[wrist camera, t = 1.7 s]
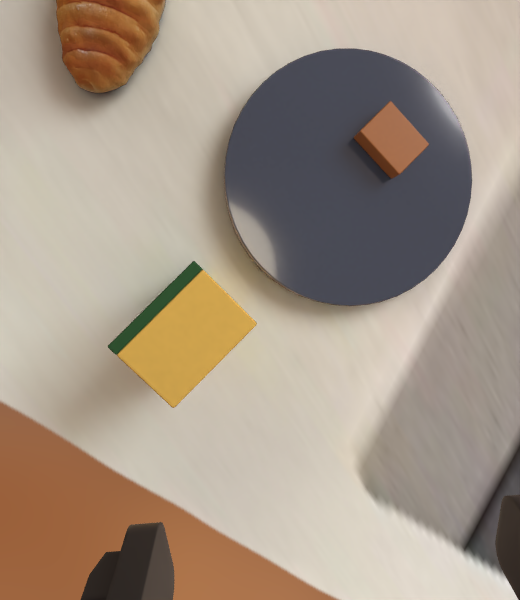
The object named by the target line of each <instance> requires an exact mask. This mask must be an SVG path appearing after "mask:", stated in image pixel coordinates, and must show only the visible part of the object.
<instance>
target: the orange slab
mask: <svg viewBox="0 0 520 600" xmlns="http://www.w3.org/2000/svg"><path fill="white" fill-rule="evenodd" d="M354 139H355V140H356V141H357V142H358V143H359V144H360V146H361V147H362V148H363V149H364V150H365V151H366V152H367V153H368V154H369V155H370V157H371V158H372V159H373V160H374V161H375V162H376V163H377V164H378V165H379V166H380V167H381V169H382V170H383V171H384V172H385V173H386V174H387V175H388V176H389V177H390V178H391V179H392V178H394V177H396V176H398V175H400V174H401V173H402V172H403V171H404V170H405V169H406V168H407V167H408V166H409V165H410V164H411V163H412V162H413V161H414V160H415V159H416V158H417V157H418V156H419V155H420V154H421V153H422V152H423V151H424V150H425V149H426V148H427V147H428V145H429V143H428V142H427V141H426V140H425V139H424V138H423V137H422V135H421V134H420V133H419V132H418V131H417V130H416V129H415V128H414V126H413V125H412V124H411V123H410V122H409V121H408V120H407V119H406V117H405V116H404V115H403V114H402V113H401V112H400V111H399V110H398V108H397V107H396V106H395V105H394V104H393V103H392V102H391V101H389V102H388V103H387V104H386V105H385V106H384V107H383V108H382V109H381V110H380V111H379V112H378V113H377V114H376V115H375V116H374V117H373V118H372V119H371V120H370V121H369V122H368V123H367V124H366V125H365V126H364V127H363V128H362V129H361V130H360V131H359V132H358V133H357V134H356V135H355V136H354Z"/></svg>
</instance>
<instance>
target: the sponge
mask: <svg viewBox="0 0 520 600" xmlns="http://www.w3.org/2000/svg"><path fill="white" fill-rule="evenodd" d="M256 324H257V323H256V322H255V321H254V320H253V319H252V318H251V317H250V316H249V315H248V314H247V313H246V312H245V311H244V310H243V309H242V308H241V307H240V306H239V305H238V304H237V303H236V302H235V301H234V300H233V299H232V298H231V297H230V296H229V295H228V294H227V293H226V292H225V291H224V290H223V289H222V288H221V287H220V286H219V285H218V284H217V283H216V282H215V281H214V280H213V279H212V278H211V277H210V276H209V275H208V274H207V273H206V272H205V271H204V270H203V269H202V268H201V267H200V266H199V265H198V264H197V263H196V262H195V261H193V262H192V263H191V264H190V265H189V266H188V267H187V268H186V269H185V270H184V271H183V272H182V273H181V274H180V275H179V276H178V277H177V278H176V279H175V280H174V281H173V282H172V283H171V284H170V285H169V286H168V287H167V288H166V289H165V290H164V291H163V292H162V293H161V294H160V295H159V296H158V297H157V298H156V299H155V300H154V301H153V302H152V303H151V304H150V305H149V306H148V307H147V308H146V309H145V310H144V311H143V312H142V313H141V314H140V315H139V316H138V317H137V318H136V319H135V320H134V321H133V322H132V323H131V324H130V325H129V326H128V327H127V328H126V329H125V330H124V331H123V332H122V333H121V334H120V335H119V336H118V337H117V338H116V339H115V340H114V341H113V342H111V343H110V344H109V345H108V348H109V349H110V350H111V351H112V352H113V353H115V354H117V356H118V357H119V358H120V359H121V360H122V361H123V362H124V363H125V364H126V365H128V366H129V367H130V368H131V369H132V370H133V371H134V372H135V373H136V374H137V375H138V376H139V377H140V378H141V379H142V380H144V381H145V382H146V383H147V384H148V385H149V386H150V387H151V388H152V389H153V390H154V391H155V392H156V393H157V394H158V395H160V396H161V397H162V398H163V399H164V400H165V401H166V402H167V403H168V404H169V405H170V406H171V407H173V408H174V407H175V406H176V405H177V404H178V403H179V402H180V401H181V400H182V399H183V398H184V397H185V396H186V395H187V394H188V393H189V392H190V391H191V390H192V389H193V388H194V387H195V386H196V385H197V384H198V383H199V382H200V381H201V380H202V379H203V378H204V377H205V376H206V375H207V374H208V373H209V372H210V371H211V370H212V369H213V368H214V367H215V366H216V365H217V364H218V363H219V362H220V361H221V360H222V359H223V358H224V357H225V356H226V355H227V354H228V353H229V352H230V351H231V350H232V349H233V348H234V347H235V346H236V345H237V344H238V343H239V342H240V341H241V340H242V339H243V338H244V337H245V336H246V335H247V334H248V333H249V332H250V331H251V330H252V329H253V328H254V327H255V326H256Z"/></svg>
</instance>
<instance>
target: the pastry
mask: <svg viewBox="0 0 520 600" xmlns="http://www.w3.org/2000/svg"><path fill="white" fill-rule="evenodd" d="M56 3H57V11H56V15H57V20H58V32H59V35H60V39H61V43H62V51H63V54H62V59H63V62H64V64H65V65H66V67H67V69H68V70H69V71H70V73H71V74H72V76H73V77H74V79H75V82H76V83H77V85H78V86H79V87H81V88H82V89H85V90H87V91H90V92H94V93H103V92H108V91H112V90H115V89H117V88H119V87H121V86H123V85H125V84H126V83H127V81H128V79H129V77H130V76H131V75H132V74H133V72H134V70H135V69H136V67H137V66H139V65H140V64H141V63H142V61H143V58H144V57H145V55H146V54H147V53H148V52H149V51H150V50H151V47H152V43H153V42H154V40H155V39H156V37H157V35H158V32H159V21H160V18H161V15H162V13H163V11H164V6H165V0H56Z"/></svg>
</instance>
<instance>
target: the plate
mask: <svg viewBox="0 0 520 600" xmlns="http://www.w3.org/2000/svg"><path fill="white" fill-rule="evenodd" d="M389 101H391V102H392V103H393V104H394V105H395V106H396V107H397V108H398V110H399V111H400V112H401V113H402V114H403V115H404V116H405V117H406V119H407V120H408V121H409V122H410V123H411V124H412V125H413V126H414V128H415V129H416V130H417V131H418V132H419V133H420V134H421V135H422V137H423V138H424V139H425V140H426V141H427V142H428V143H429V145H428V147H427V148H426V149H425V150H424V151H423V152H422V153H421V154H420V155H419V156H418V157H417V158H416V159H415V160H414V161H413V162H412V163H411V164H410V165H409V166H408V167H407V168H406V169H405V170H404V171H403V172H402V173H401V174H400V175H398V176H396V177H394V178H392V179H391V178H390V177H389V176H388V175H387V174H386V173H385V172H384V171H383V170H382V169H381V167H380V166H379V165H378V164H377V163H376V162H375V161H374V160H373V159H372V158H371V157H370V155H369V154H368V153H367V152H366V151H365V150H364V149H363V148H362V147H361V146H360V144H359V143H358V142H357V141H356V140H355V139H354V136H355V135H356V134H357V133H358V132H359V131H360V130H361V129H362V128H363V127H364V126H365V125H366V124H367V123H368V122H369V121H370V120H371V119H372V118H373V117H374V116H375V115H376V114H377V113H378V112H379V111H380V110H381V109H382V108H383V107H384V106H385V105H386V104H387V103H388V102H389ZM471 188H472V170H471V160H470V154H469V149H468V145H467V142H466V138H465V135H464V132H463V130H462V127H461V125H460V123H459V120H458V118H457V117H456V115H455V113H454V111H453V110H452V108H451V106H450V105H449V103H448V102H447V101H446V99H445V98H444V97H443V95H442V94H441V93H440V91H439V90H438V89H437V88H436V87H435V86H434V85H433V84H432V83H431V82H430V81H429V80H428V79H426V78H425V77H424V76H422V75H421V74H420V73H419V72H417V71H416V70H415V69H413V68H411V67H410V66H408V65H406V64H405V63H403V62H401V61H399V60H397V59H394V58H392V57H389V56H387V55H384V54H380V53H377V52H373V51H369V50H361V49H332V50H325V51H320V52H316V53H313V54H310V55H306V56H304V57H301V58H299V59H297V60H295V61H293V62H290V63H289V64H287V65H285V66H284V67H282V68H281V69H279V70H278V71H276V72H275V73H274V74H272V75H271V76H270V77H269V78H268V79H267V80H265V81H264V82H263V83H262V84H261V85H260V86H259V87H258V89H257V90H256V91H255V92H254V93H253V94H252V95H251V97H250V98H249V100H248V101H247V103H246V104H245V106H244V107H243V109H242V110H241V112H240V114H239V117H238V119H237V121H236V123H235V125H234V127H233V130H232V133H231V136H230V139H229V143H228V148H227V153H226V159H225V170H224V189H225V199H226V204H227V209H228V213H229V216H230V219H231V222H232V225H233V228H234V230H235V232H236V234H237V237H238V239H239V241H240V243H241V244H242V246H243V247H244V249H245V250H246V252H247V253H248V255H249V256H250V258H251V259H252V260H253V261H254V262H255V263H256V265H257V266H258V267H259V268H260V269H261V270H262V271H263V272H264V273H265V274H266V275H268V276H269V277H270V278H271V279H272V280H273V281H275V282H276V283H278V284H279V285H281V286H282V287H284V288H285V289H287V290H289V291H291V292H293V293H295V294H297V295H299V296H302V297H305V298H308V299H310V300H313V301H318V302H323V303H328V304H333V305H344V306H356V305H368V304H373V303H377V302H382V301H385V300H388V299H391V298H393V297H396V296H398V295H400V294H402V293H404V292H406V291H408V290H410V289H412V288H413V287H415V286H416V285H418V284H419V283H420V282H422V281H423V280H425V279H426V278H427V277H428V276H429V275H430V274H431V273H432V272H433V271H435V270H436V269H437V267H438V266H439V265H440V264H441V263H442V262H443V260H444V259H445V258H446V257H447V255H448V254H449V252H450V251H451V249H452V248H453V246H454V245H455V243H456V241H457V239H458V237H459V235H460V232H461V230H462V228H463V225H464V222H465V219H466V216H467V213H468V208H469V203H470V199H471Z"/></svg>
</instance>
